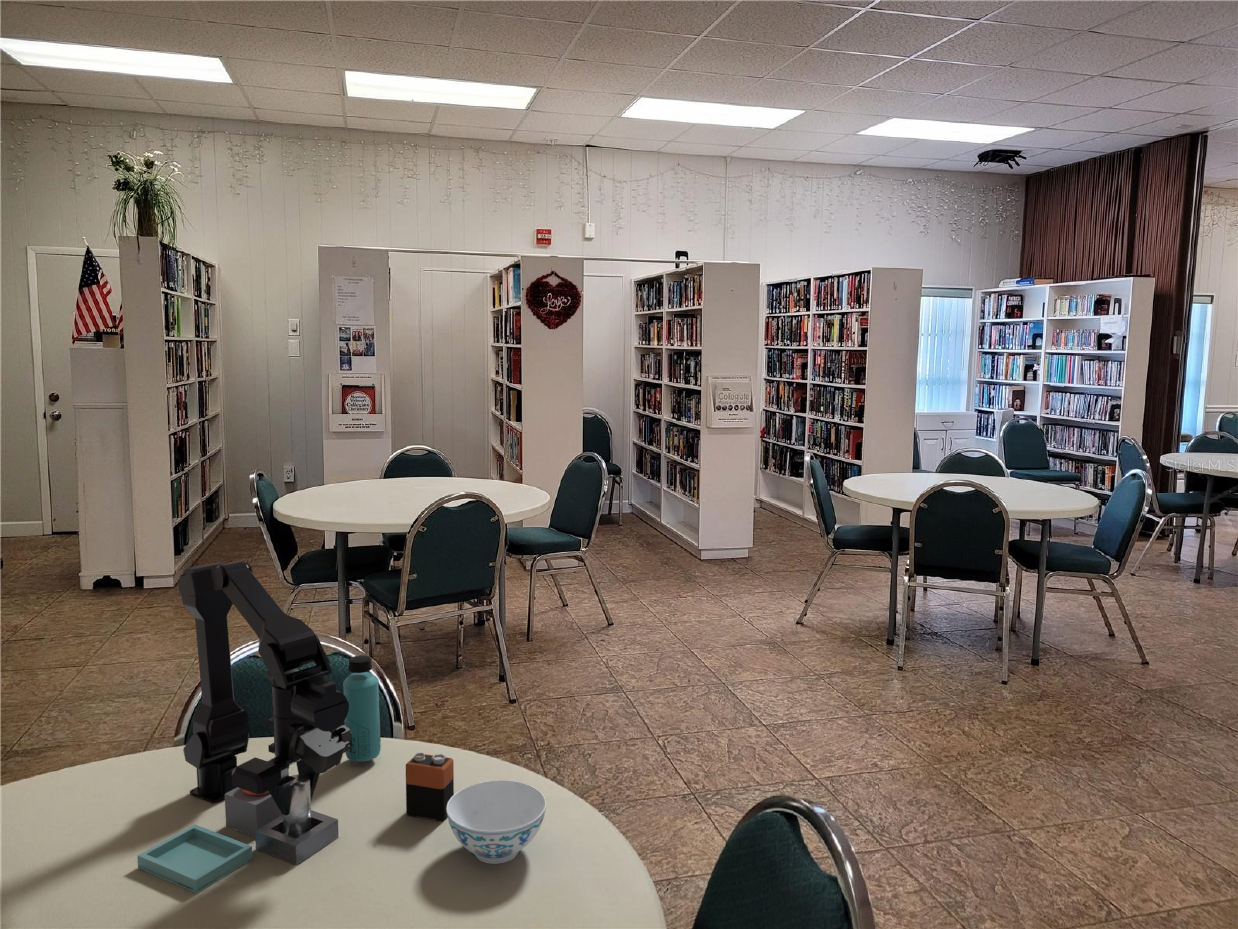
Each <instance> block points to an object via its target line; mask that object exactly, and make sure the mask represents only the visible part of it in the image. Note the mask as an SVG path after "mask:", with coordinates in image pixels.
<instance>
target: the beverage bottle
mask: <svg viewBox="0 0 1238 929" xmlns="http://www.w3.org/2000/svg"><path fill="white" fill-rule="evenodd" d="M347 667H348V671H349V672H350V673H351V674H349V675H348V676H347V677H346V678H345V679H344V680H343V683H342V687H343V694H344V695H345V697H346V698H347V701H348V702H349V711H348V714H347V717H346V719H345V720H344V725H345V726H346V727H348V728H349V729H350V732H351V733H352V745H350V750H349V751H347V752H345V756H346V758H347V759H348V760H349V761H352V762H359V763H361V762H369V761H371V760H374V759H376V758H377V757H378V756H379V755H380V753H381V750H382V749H381V747H382V743H381V739H382V738H381V736H382V735H381V716H380V701H379V700H380V696H379V694H380V692H379V678H378V677H377V676H376V675H374V674H373V673H371V672H370V671H371V670H372V669H373V663H372V657H371V656H369V655H366V654H365V655H364V654H363V655H362V654H361V655H360V654H359V655H354V656H352V657H350V658H349V660H348V666H347Z"/></svg>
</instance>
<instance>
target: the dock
mask: <svg viewBox="0 0 1238 929" xmlns="http://www.w3.org/2000/svg"><path fill="white" fill-rule="evenodd" d="M224 807H225V809H224V810H225V827H227V828H229V829H232V830H235V831H236V832H240V833H242V834H245V835H247V836H251V837H254V838H255V831H256V830H258V829H259V828H261V827H263V826H264V825H266V824H268V823H270V822H271V821H273V820H275V819H276V818H278V817H280V816H281V815H283V814H282V813H281V811H280V810H279V808H278V806H277V805H276V803H275V801H274V799H273V798H272V796H271V795H270V793H266V794H264V795H262V796H260V797H258V796H255V795H248V794H245V793H243V792H242V789H241V788H238V787H237V788H235V789H233V790H231V791H229V792H227V793H226V794H225V798H224Z"/></svg>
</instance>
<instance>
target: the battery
mask: <svg viewBox="0 0 1238 929" xmlns="http://www.w3.org/2000/svg"><path fill="white" fill-rule="evenodd" d="M454 766H455V765H454V759H453V758H452V757H447V756H446V755H445V754H442V753H438V754H426V753H423V752H416V753H415V754H414V756H413V757H412V758H410V760H409V761H407V762H406V764H405V803H406V804H405V809H406V810H405V811H406V815H407V816H410V817H414V818H415V817H416V818H421V819H426V820H427V819H428V820H433V821H440V822H442V821H444V820H445V819H446V818H448V816H447V810H446V808H447V803H448V801H449V800H450V798H451V797H452V796H453V795H454V794H455V793H454V792H455V789H454V788H455V787H454V786H455V783H454V782H455V779H454V778H455V777H454V776H455V775H454V769H455V768H454Z"/></svg>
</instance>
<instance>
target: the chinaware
mask: <svg viewBox="0 0 1238 929" xmlns="http://www.w3.org/2000/svg"><path fill="white" fill-rule="evenodd" d="M546 809H547V799H546V797H545V795H544V794H543V792H541V791H540V790H539V789H537V787H534V786H532V785H530V784H527V783H524V782H521V781H516V780H508V779H507V780H506V779H505V780H504V779H497V780H496V779H495V780H485V781H480V782H478V783H477V782H476V783H473V784H471V785H467V786H466V787H463V788H461V789H460V790H458V791H457V792H455V793H454V795H453V796H452V797H451V798H450V800H449V801H448V803H447V808H446V810H447V819H448V823H449V826H450V829H451V831H452V833H453V835H454V837H455V838H456V839H457V841H458V842H459V843H460V845H461V846H463V847H464V848H465V849H466V850H468V851H469V852H470V853H472V854H474V856H475V858H476V859H478V860H479V861H480V862H483V863H486V864H492V865H497V864H504V863H507V862H509V861H512V860H513V859H514V858H515V857H517V856H518V854H519V852H520V851H522V850H523V849H524V848H526V847H527V846H528V845H529V844H530V842H531V843H532V840H534V838H535V837H536V836H537V834H538V832H539V830H540V828H541V826H542V824H543V820H544V817H545V814H546Z"/></svg>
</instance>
